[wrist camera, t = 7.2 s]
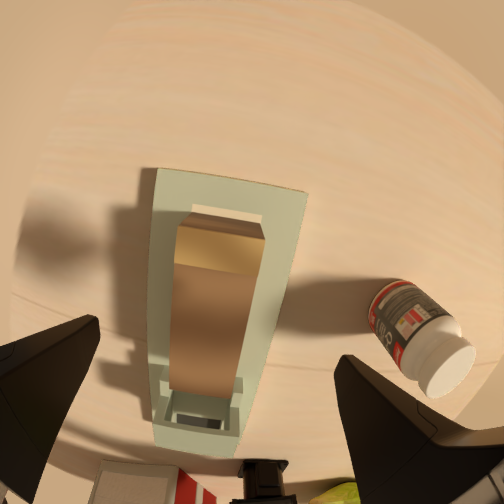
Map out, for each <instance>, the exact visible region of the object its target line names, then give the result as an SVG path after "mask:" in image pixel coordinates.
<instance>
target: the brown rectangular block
mask: <svg viewBox="0 0 504 504" xmlns="http://www.w3.org/2000/svg"><path fill="white" fill-rule="evenodd" d="M265 241H266V240H265V237H264V234H263V231H262V228H261V225H260V223H255V222H250V221H244V220H238V219H232V218H227V217H221V216H215V215H208V214H202V213H196V212H191V213H190V214H189V215H188V216H187V217H186V218H185V219H184V220H183V221H182V222H181V223H180V224H179V225H178V228H177V237H176V246H175V256H174V263H175V264H174V275H173V288H172V303H171V321H170V349H169V389H171V390H176V391H181V392H187V393H192V394H198V395H205V396H211V397H219V398H226V399H231V395H232V391H233V386H234V382H235V377H236V373H237V368H238V364H239V359H240V355H241V350H242V346H243V341H244V337H245V332H246V328H247V323H248V318H249V314H250V309H251V305H252V300H253V295H254V291H255V286H256V281H257V277H258V274H259V270H260V265H261V260H262V256H263V251H264V246H265Z"/></svg>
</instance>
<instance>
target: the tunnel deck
mask: <svg viewBox="0 0 504 504" xmlns="http://www.w3.org/2000/svg"><path fill="white" fill-rule="evenodd" d="M307 198H308V193H305V192H303V191H298V190H294V189H289V188H284V187H279V186H274V185H269V184H264V183H259V182H253V181H248V180H242V179H237V178H231V177H225V176H219V175H212V174H206V173H199V172H192V171H184V170H177V169H169V168H158V170H157V177H156V184H155V192H154V200H153V209H152V218H151V229H150V242H149V257H148V277H147V352H148V372H149V386H150V398H151V408H152V417H153V423H152V425H153V432H154V439H155V446H157V447H162V448H167V449H172V450H177V451H182V452H188V453H194V454H201V455H208V456H216V457H226V458H233V456H234V453H235V450H236V447H237V444H238V445H239V444H240V441H241V438H242V435H243V432H244V429H245V426H246V423H247V420H248V417H249V414H250V410H251V407H252V404H253V401H254V398H255V395H256V391H257V388H258V385H259V382H260V379H261V375H262V372H263V369H264V365H265V362H266V358H267V355H268V352H269V348H270V345H271V341H272V338H273V334H274V331H275V327H276V323H277V320H278V316H279V312H280V309H281V305H282V301H283V298H284V294H285V290H286V286H287V282H288V278H289V274H290V270H291V266H292V262H293V258H294V254H295V250H296V246H297V242H298V238H299V233H300V229H301V225H302V221H303V216H304V212H305V207H306V203H307ZM191 212H196V213H202V214H208V215H215V216H221V217H227V218H232V219H238V220H244V221H250V222H255V223H260V225H261V228H262V231H263V234H264V237H265V240H266V241H265V246H264V251H263V256H262V260H261V265H260V270H259V274H258V277H257V281H256V286H255V291H254V295H253V300H252V305H251V309H250V314H249V318H248V323H247V328H246V332H245V337H244V341H243V346H242V350H241V355H240V359H239V364H238V368H237V373H236V377H235V382H234V386H233V391H232V395H231V399H226V398H219V397H211V396H205V395H198V394H192V393H187V392H181V391H176V390H171V389H169V349H170V321H171V303H172V288H173V275H174V264H175V263H174V256H175V246H176V237H177V228H178V225H179V224H180V223H181V222H182V221H183V220H184V219H185V218H186V217H187V216H188V215H189V214H190V213H191Z"/></svg>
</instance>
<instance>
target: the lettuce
mask: <svg viewBox="0 0 504 504" xmlns="http://www.w3.org/2000/svg"><path fill="white" fill-rule="evenodd" d="M308 504H361V503H360V498H359V493H358V488H357V484H356V482H347V483H343V484H340V485H338V486H335V487H333V488H331V489H329V490H328V491H326V492H325V493H323V494H322V495H320V496H318V497H315V498H313V499H311V500H310V502H309V503H308Z"/></svg>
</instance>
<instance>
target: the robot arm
mask: <svg viewBox="0 0 504 504" xmlns="http://www.w3.org/2000/svg"><path fill="white" fill-rule="evenodd" d="M99 341H100V328H99V320H98V318H97V317H96V316H93V315H89V314H87V315H84V316H82V317H79V318H76V319H73V320H71V321H68V322H65V323H63V324H60V325H57V326H55V327H52V328H49V329H46V330H44V331H41V332H38V333H36V334H33V335H30V336H27V337H25V338H22V339H19V340H17V341H16V342H15V341H14V342H11V343H8V344H6V345H3V346H0V504H7V501H6V498H5V495H6V493H7V491H8V490H10V491H11V492H12V493H14V494H15V495H17V496H18V497H20V498H21V499H23V500H24V501H26V502H27V503H29V504H32V503H33V501H34V497H35V494H36V491H37V488H38V485H39V482H40V479H41V476H42V473H43V470H44V468H45V465H46V463H47V460H48V457H49V454H50V452H51V449H52V447H53V444H54V442H55V440H56V437H57V435H58V433H59V430H60V428H61V426H62V423H63V421H64V419H65V417H66V415H67V413H68V410H69V408H70V406H71V404H72V402H73V400H74V398H75V396H76V394H77V392H78V390H79V388H80V386H81V384H82V382H83V380H84V378H85V376H86V374H87V372H88V369H89V367H90V364H91V361H92V359H93V356H94V354H95V351H96V349H97V346H98V344H99ZM334 381H335V388H336V395H337V402H338V408H339V413H340V417H341V421H342V424H343V428H344V432H345V436H346V440H347V445H348V449H349V453H350V457H351V461H352V466H353V470H354V475H355V479H356V484H357V488H358V493H359V498H360V503H361V504H504V426H502V427H497V428H491V429H484V430H471V429H467V428H465V427H463V426H461V425H459V424H457V423H456V422H454V421H452V420H450V419H448V418H446V417H444V416H443V415H441V414H439V413H437V412H436V411H434V410H432V409H431V408H429V407H428V406H426V405H425V404H423V403H422V402H420V401H419V400H416V398H414V397H413V396H411V395H410V394H408V393H407V392H405V391H404V390H402V389H401V388H399V387H398V386H397V385H395V384H394V383H392V382H391V381H389V380H388V379H386V378H385V377H383V376H382V375H381V374H379V373H378V372H376V371H375V370H373V369H372V368H371V367H369V366H368V365H366V364H365V363H364V362H362V361H361V360H359V359H358V358H356V357H355V356H354V355H342V356H341V358H340V360H339V362H338V364H337V366H336V369H335V371H334ZM288 464H289V462H288V461H257V460H245V461H243V464H242V466H241V468H240V471H239V473H238V478H243V489H244V499H232V502H229V504H297V500H296V495H295V494H292V495H289V496H285V492H284V484H283V476H282V473H283V471H284V470H285V468H286V467H287V466H288Z"/></svg>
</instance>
